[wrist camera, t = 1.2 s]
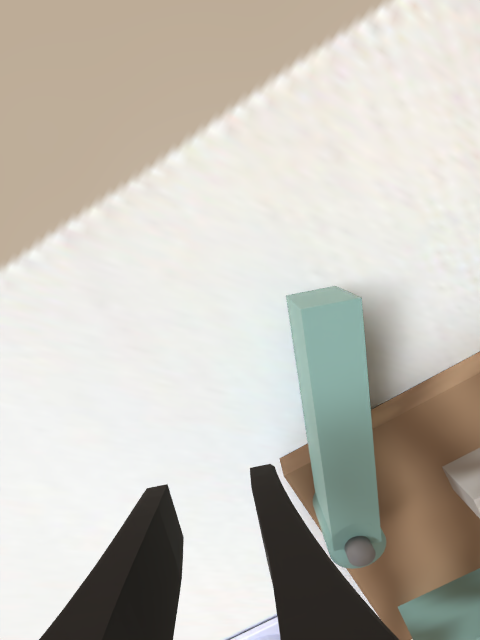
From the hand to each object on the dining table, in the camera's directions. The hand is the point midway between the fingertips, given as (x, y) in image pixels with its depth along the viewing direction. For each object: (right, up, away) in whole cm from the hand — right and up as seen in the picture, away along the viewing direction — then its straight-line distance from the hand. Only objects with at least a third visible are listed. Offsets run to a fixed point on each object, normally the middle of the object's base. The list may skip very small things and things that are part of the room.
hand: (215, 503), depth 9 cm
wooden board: (+15, -7, +12) cm, 21 cm away
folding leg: (+6, 0, +8) cm, 10 cm away
